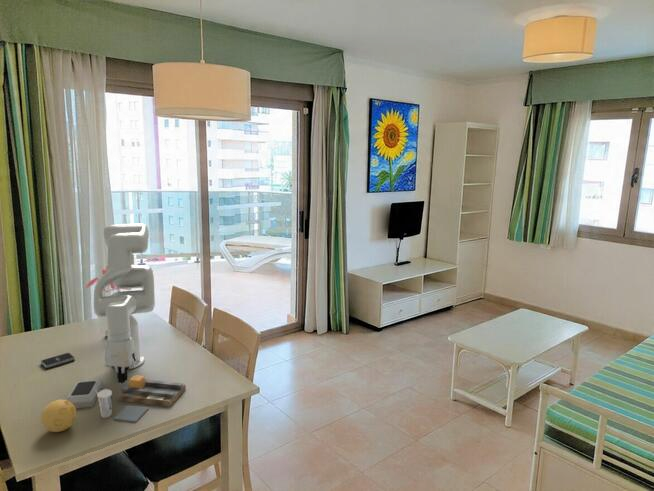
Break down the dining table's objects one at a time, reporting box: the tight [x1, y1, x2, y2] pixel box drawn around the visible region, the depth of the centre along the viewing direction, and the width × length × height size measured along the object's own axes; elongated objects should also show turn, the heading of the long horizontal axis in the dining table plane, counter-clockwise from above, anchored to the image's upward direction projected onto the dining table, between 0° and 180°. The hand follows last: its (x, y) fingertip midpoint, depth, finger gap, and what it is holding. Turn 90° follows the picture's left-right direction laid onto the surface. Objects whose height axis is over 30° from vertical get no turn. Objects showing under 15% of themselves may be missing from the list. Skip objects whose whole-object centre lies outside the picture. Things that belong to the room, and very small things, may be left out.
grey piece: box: [117, 379, 187, 407], centre depth 167 cm, size 20×12×4 cm, turn 81°
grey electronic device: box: [64, 379, 104, 409], centre depth 164 cm, size 10×4×15 cm
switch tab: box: [128, 374, 146, 389], centre depth 167 cm, size 4×4×4 cm
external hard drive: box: [40, 352, 76, 370], centre depth 190 cm, size 7×11×2 cm, turn 138°
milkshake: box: [95, 388, 113, 419], centre depth 153 cm, size 4×5×10 cm
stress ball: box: [40, 399, 77, 433], centre depth 144 cm, size 10×10×10 cm
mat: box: [113, 405, 150, 423], centre depth 154 cm, size 8×8×1 cm
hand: (122, 381), depth 168 cm, fingers closed
